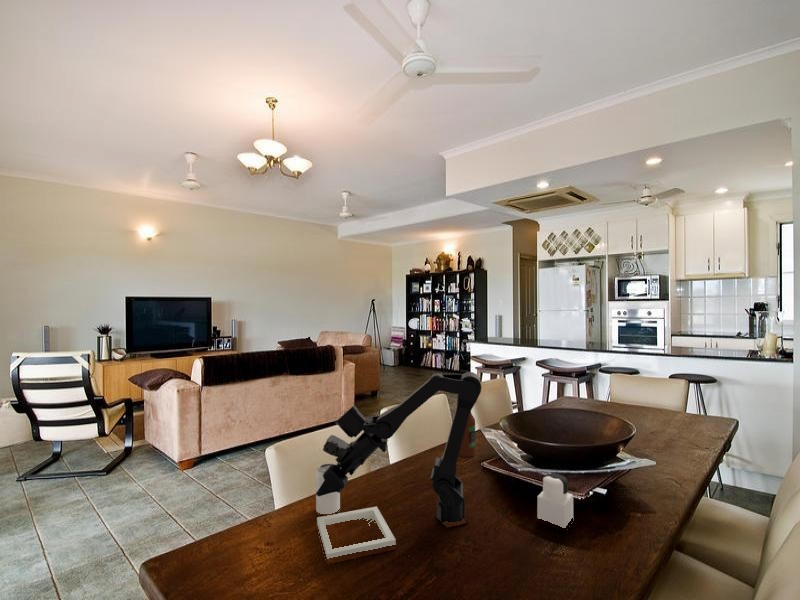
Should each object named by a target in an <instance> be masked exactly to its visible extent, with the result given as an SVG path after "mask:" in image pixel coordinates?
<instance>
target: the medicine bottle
mask: <svg viewBox="0 0 800 600" xmlns="http://www.w3.org/2000/svg"><path fill="white" fill-rule="evenodd" d="M568 482H569V481H568V479H567V478H566V477H565V476H564V475H561V474H558V473H546V474H544V476H543V477H542V491H541V492H540V493H539V494H538V495H537V497H536V502H537V503H536V519H537V518H538V519H542V520H544V521H548V522H550V523H552V524H555V525H558V526H560V527H562V528H566V526H567V525H568V523H569V522H570V521H571V519H572V518H573V519H574V494H572V493H569V491H568V489H569V486H568V485H569V483H568Z"/></svg>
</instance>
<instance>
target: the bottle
mask: <svg viewBox="0 0 800 600" xmlns="http://www.w3.org/2000/svg"><path fill="white" fill-rule="evenodd" d="M475 455H476V419H475V416H474V415H473V413H472V411H471V412H470V415H469V418H468V422H467V426H466V429H465V433H464V437H463V440H462V444H461V448H460V451H459V455H458V457H462V458H473V457H474V456H475Z"/></svg>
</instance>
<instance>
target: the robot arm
mask: <svg viewBox="0 0 800 600" xmlns="http://www.w3.org/2000/svg"><path fill="white" fill-rule="evenodd" d="M438 392H444V393H450V394H454V395H457V399H456V400H457V402H456V408H455V412H454V415H453V418H452V421H451V426H450V430H449V433H448V436H447V441H446V444H445V448H444V451H443V454H442V456H441V458H440V457H439V456H435V461H434V464H433V465H434V467H433V468H432V470H431V475H430V481H431V482H432V483H431V484H432V485H431V486H432V489H433V492H434V493H436V494H437V495H438V502H437V503H436V514H437V517H436V518H437V519H438V521H439V520H440V521H441V522H445V521H448V522H457V521H461V520H462V518H465V519H466V497H465V496H464V483H463V481H461V480H460V479H459V478H458V477H457V462H458V458H459V456H458V455H459V451H460V448H461V444H462V440H463V437H464V433H465V429H466V426H467V422H468V418H469V415H470V412H471V413H472V410H473V408H474V406H475V404H476V402H478V401H477V400H478V398H479V396H480V395H481V392H482V383H481V378H480V377H479V375H478V374H476V373H475V372H472V371H467V372H464V373H463V374H462V373H439V372H435V373H433V374H432V375H431V376H430V377H429V379H428V380H426V381H424V383H423V384H422V385H420V386H419V387H418V388H417V389H416V390H415V391H413V392H412V393H411V394H410V395H409V396H407V398H405V399H404V400H403V401H402V402H401V403H399V404H398V405H395V406H392V407H391V408H389V409H387V410H385V411H384V412H382V413H381V414H380V415H376V416H375V415H374V416H368V417H367V418H366V417H365V416H364V415H363V414H362V412H361V411H360V410H359V409H358V408H357V406H356V405H352V406H351V407H350V408H349V409H348V410H347V411H345V412H344V413H343V414H342V416H339V418H338V420H336V421H335V424H336V425H337V426H338V427H339V428H340V429H341V430H342V431H343V432H344V433H345V435H346V436H347V437H348V438H350V439H352V438H356V437H357V438H356V439H355V440H352V441H351V442H350V443H348V442H347V441H345V440H343V439H342V438H340V437H338V436H336V435H333V434H331V435H330V436H329V437H328V438H326V441H325V444H324V445H323V448H322V451H323V452H324V453H326V454H328V455H330V456H333V457H336V458H335V459H334V460H335V461H336V462H337V463H336V464H335V465H331V466H330V467H329V468H328V469H327V470H326V471H325V472H324V474H323V478H324V482H323V484H322V485H321V487H320V488H319V490H318V491H317V493H316V492H315V495H316V494H317V496H322V495H326V494H329V493H333V492H338V493H340V494H341V492H342V491H343V490H344V489H345V488H346V486H347V485H348V483H349V477H348V476H347V475H348V474H349V475H350V476H352V475H354V474H355V472H356V471H357V469H358V468H359V467H361V466H363V465H364V464H365V462H366V461H367V459H369V458H370V456H372V454H373V453H375V452H376V451H377V450H378V449H379V450H381V452H383V453H385V452H386V451H387V449H388V447H389V446H388V441H389V440H388V439H390V438H392V437H393V436H394V434H395V433H396V432H397V431H398V430H399V429H400V427H401V426H402V425H403V423H404V422H405V421H406V420H407V418H408V417H409V416H410V415H411V414H413V413H414V412H415V411H416V410H417V409H419V408H420V407H421V406H422V405H423V404H425V403H426V402H427V401H429V399H431V398H432V397H433V396H435V395H436V394H437V393H438ZM362 431H363V432H362ZM361 432H362V433H361ZM359 434H360V435H359ZM358 435H359V436H358ZM440 521H439V522H440ZM441 522H440V523H441Z"/></svg>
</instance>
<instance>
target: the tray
mask: <svg viewBox="0 0 800 600" xmlns="http://www.w3.org/2000/svg"><path fill="white" fill-rule="evenodd" d="M362 518H364V519H367V520H366V521H368V520H370V519H372V520H371V521H370V522H372V521H374V520H375V521H376V522H374V523H377V525H378V527H379V529H380V530H381V532H382V534H383V535H384V537H385V538H382V539H377V540H372V541H368V542H363V543H358V544H353V545H349V546H344V547H339V548H334V549H332V545H331V542H330V539H329V535H328V532H327V529H326V525H331V524H335V523H340V522H345V521H350V520H357V519H359V520H360V519H362ZM364 519H363V520H364ZM370 522H369V523H370ZM369 523H368V524H369ZM316 525H317V526H318V529H319V532H318V534H319V533H320V536H321V540H322V543H323V547H324V550H325V554H326V557H327V559H329V558H333V557H338V556H342V555H347V554H352V553H356V552H362V551H368V550H373V549H378V548H382V547H386V546H392V545H396V546H397V542H396V541H397V540H396V538H395V536H394V534H393V533H392V531H391V529H390V528H389V526H388V524H387V521H386V520H385V518H384V516H383V515H382V513H381V511H380V509H379V508H378V506H372V507H367V508H361V509H355V510H350V511H349V510H348V511H346V512H338V513H337V514H333V515H327V516H318V517H316ZM317 526H316V527H317ZM369 526H370V524H369ZM318 529H317V530H318ZM320 536H319V537H320ZM321 540H320V541H321Z"/></svg>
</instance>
